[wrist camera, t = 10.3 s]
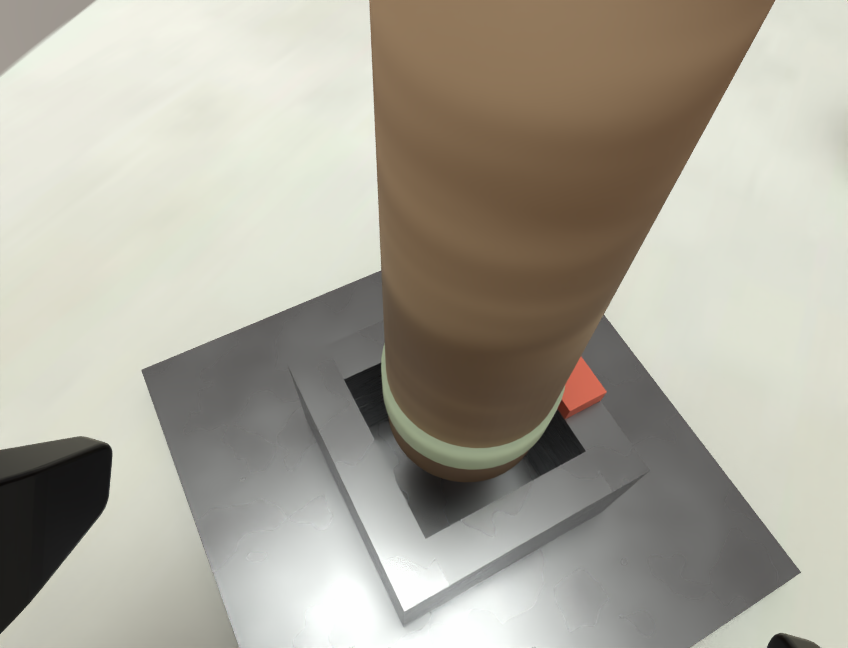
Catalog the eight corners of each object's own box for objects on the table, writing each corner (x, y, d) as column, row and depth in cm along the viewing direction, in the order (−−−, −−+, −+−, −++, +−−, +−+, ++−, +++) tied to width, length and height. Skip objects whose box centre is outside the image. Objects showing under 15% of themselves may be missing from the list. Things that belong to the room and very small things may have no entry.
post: (431, 516, 15) (549, -128, 3) (357, 375, 17) (253, -387, 5) (575, 439, 16) (1072, -262, 4) (491, 314, 18) (674, -436, 6)
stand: (329, 883, 17) (296, 974, 11) (150, 381, 23) (77, 292, 18) (784, 577, 21) (915, 539, 15) (520, 226, 28) (549, 115, 22)
